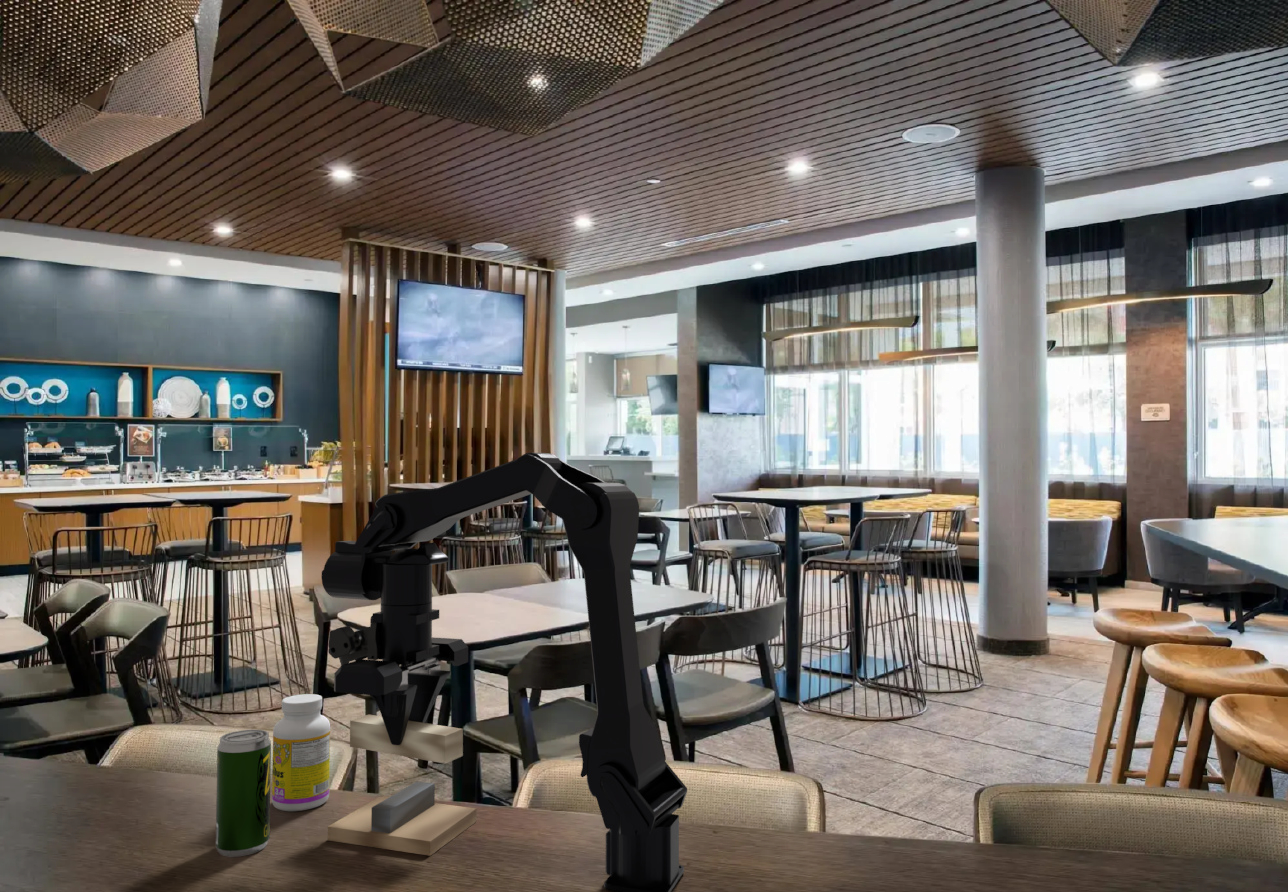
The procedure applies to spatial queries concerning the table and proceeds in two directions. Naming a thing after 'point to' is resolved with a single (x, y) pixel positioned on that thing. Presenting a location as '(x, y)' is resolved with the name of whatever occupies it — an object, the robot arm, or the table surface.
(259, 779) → the beer can
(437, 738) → the rod
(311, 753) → the supplement bottle
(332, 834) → the balance board
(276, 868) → the table surface
